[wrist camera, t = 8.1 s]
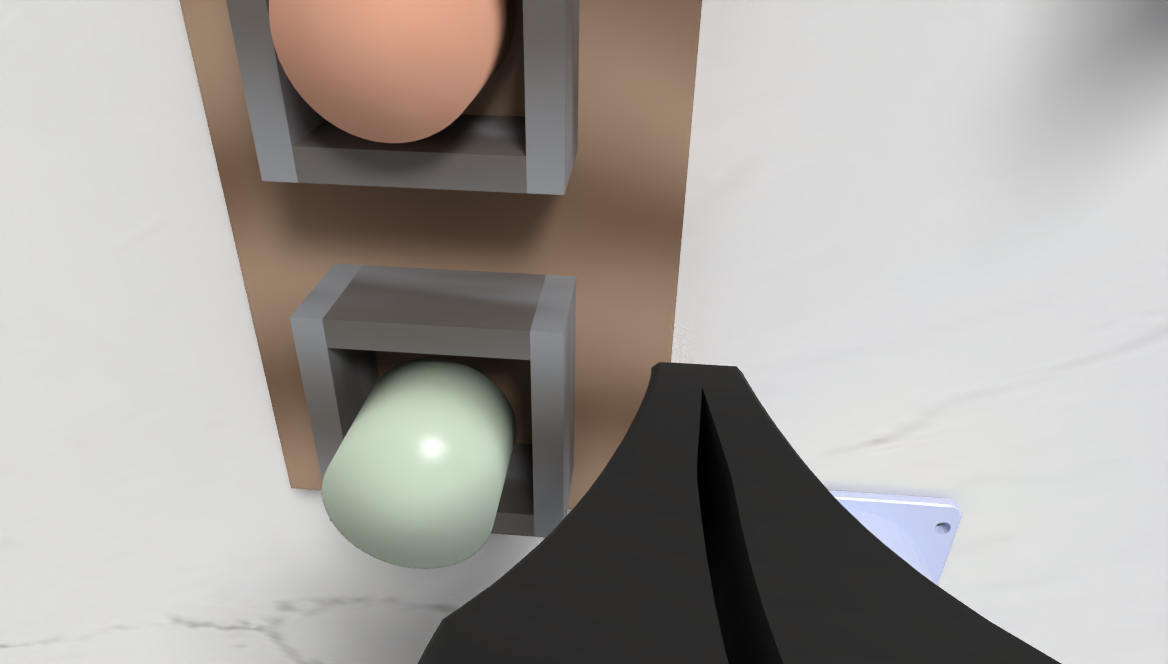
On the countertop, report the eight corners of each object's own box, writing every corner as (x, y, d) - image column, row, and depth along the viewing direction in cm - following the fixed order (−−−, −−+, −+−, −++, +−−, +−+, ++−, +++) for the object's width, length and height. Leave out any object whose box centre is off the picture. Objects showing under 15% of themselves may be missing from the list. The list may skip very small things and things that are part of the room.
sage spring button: (518, 485, 22) (497, 574, 19) (376, 475, 22) (335, 562, 19) (514, 362, 20) (489, 443, 17) (357, 353, 20) (308, 431, 17)
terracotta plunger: (517, 104, 18) (491, 147, 15) (346, 98, 18) (289, 138, 15) (513, -95, 16) (481, -88, 13) (318, -100, 16) (248, -94, 13)
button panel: (657, 473, 27) (656, 589, 22) (314, 449, 27) (249, 556, 23) (719, -259, 16) (738, -305, 12) (170, -264, 17) (7, -308, 13)
